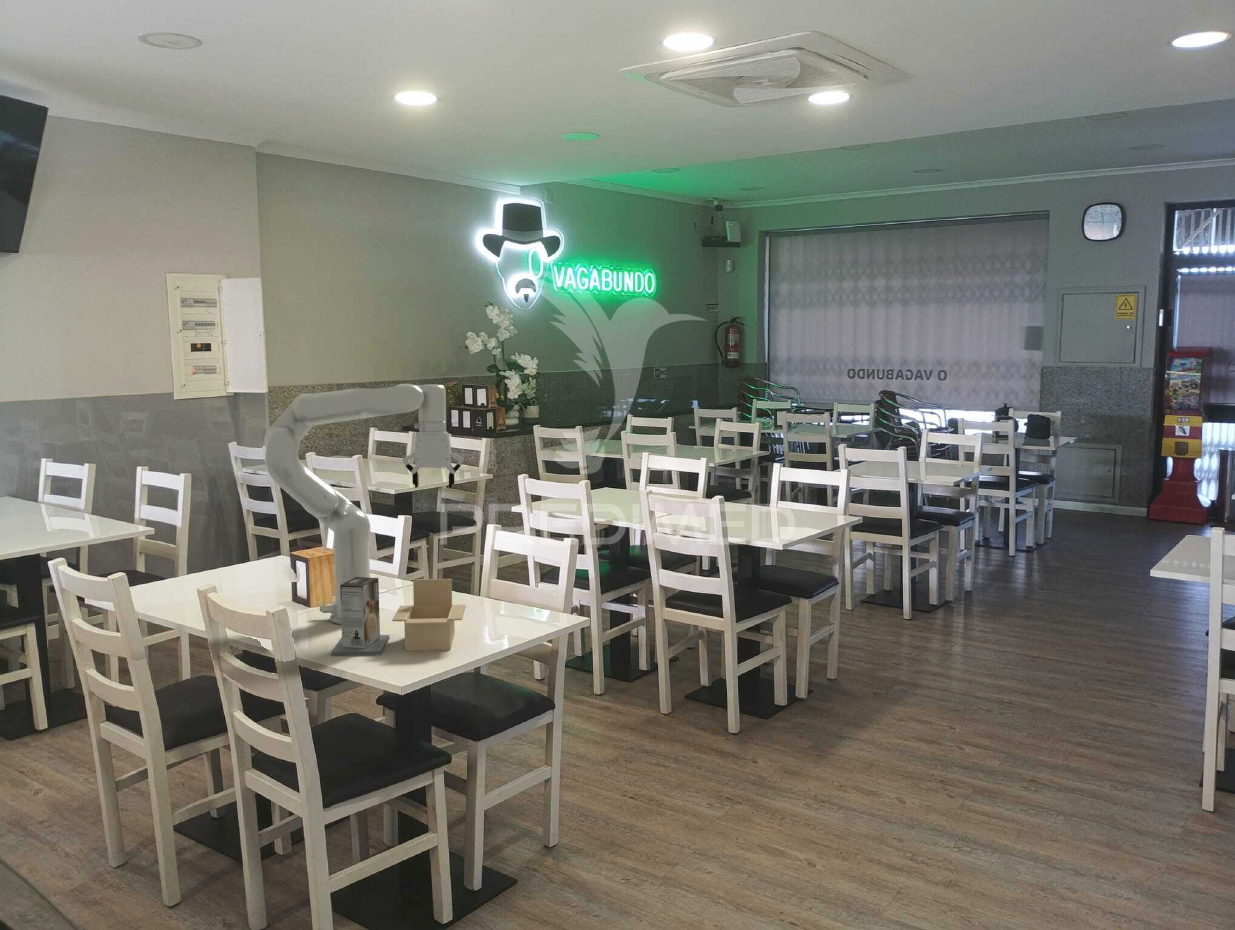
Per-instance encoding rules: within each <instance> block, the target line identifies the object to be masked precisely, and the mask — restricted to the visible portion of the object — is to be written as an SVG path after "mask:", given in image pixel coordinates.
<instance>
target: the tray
mask: <svg viewBox="0 0 1235 930" xmlns="http://www.w3.org/2000/svg"><path fill="white" fill-rule="evenodd" d="M390 635H391V634H380V638H379V639H378V640H376V641H375V642H374V643H372V644H371V645H369V646H368V647H366V648H349V647H342V636H341V638H340V639H339V640H338V642H337V643H336V645H335V646H334V647H333V649H332V650H331V657H339V656H341V657H342V656H343V657H344V656H347V657H348V656H381V655H382V654H383V653H384V651H385V648H386V647H387V645H388V643H389V641H390V637H391V636H390Z"/></svg>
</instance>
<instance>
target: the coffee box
mask: <svg viewBox="0 0 1235 930" xmlns="http://www.w3.org/2000/svg"><path fill="white" fill-rule="evenodd" d="M379 583H380V582H379V577H370V578H366V577H355V578H354V579H351V580H349V581H347V582H345V583H343V584H341V585H340V592H341V624H340V625H341V637H342V647H349V648H366V647H368V646H369V645H371V644H372V643H374V642H375V641H376V640H378V639H379V638H380V635H381V630H380V629H381V628H380V627H381V626H380V625H381V623H380V622H381V621H380V589H379V588H380V587H379Z"/></svg>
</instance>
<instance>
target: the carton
mask: <svg viewBox="0 0 1235 930" xmlns="http://www.w3.org/2000/svg"><path fill="white" fill-rule="evenodd" d="M412 585H413V587H412V588H413V589H412V590H413V591H412V592H413V604H409V605H399V606H398V609H397V610H396V613H395V614H394V615H393V617H392V622H404V651H405V652H413V651H414V652H415V651H416V652H418V651H451V648H452V645H453V642H454V638H455V634H456V633H455V632H456V630H455V629H456V627H455V625H456V623H455V622H456V621H462V620H463V618H464V613H465V611H466V607H467V604H453V578H426V579H425V578H419V579H417V578H416V579H414V578H413V584H412Z"/></svg>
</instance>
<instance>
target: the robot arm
mask: <svg viewBox="0 0 1235 930" xmlns="http://www.w3.org/2000/svg"><path fill="white" fill-rule="evenodd" d="M446 390H447V389H446V387H445V386H444V385H442V384H435V383H434V384H431V383H430V384H429V383H428V384H422V385H419V384H418V385H417V384H412V383H400V384H397V385H394V386H388V387H381V388H380V387H379V388H348V389H341V390H339V389H338V390H334V391H327V392H326V391H325V392H324V391H323V392H318V393H301V394H300V395H298V396H295V398H294V399H293V401H292V402H291V403H290V404H289V405H288V407H287V408H286V409H285V410H284V411H283V413H281V414H280V416H279V417H278V418H277V419H276V420H275V422H273V424H272V425H271V426H269V427H270V428H269V429H268V430H267V431H266V433H265V436H264V439H263V442H264V447H265V454H264V456H265V457H264V458H265V459H264V460H265V466H266V469H267V472H268V474H269V476H270V477H271V479H272V481H274V483H275V484H276V485H277V486H278V487H280V488H281V489H282V490H284V492H286V494H288V495H289V496H290V497H291V498H292V499H294V500H295V501H296V502H297V503H299V505H301V506H302V507H303V509H304V511H306V512H307V513H309V514H311V516H313V517H315V518H316V519H317V520H318V521H319V522H321V523H322V524H323V525H325V526H326V527H327V528H328V529H329V530H330V531H332V532H333V533H334V535H333V536H334V539H333V540H334V541H333V542H334V543H333V566H334V568H333V569H334V570H333V572H334V600H335V601H334V603H331V604H328V605H327V604H320V605H319V612H320V613H321V612H322V614H327V613H328V614H331V615H329V621H330V622H331V623H333V624H338V625H342V624H341V592H340V585H341V584H343V583H345V582H347V581H349V580H351V579H354V578H355V577H366V578H371V570H370V568H371V567H370V566H371V565H370V564H371V563H370V540H371V524H370V520H369V517H368V516H367V514H366V513H365V512H364V511H363V510H362V509H360V508H359V507H357V506H356V505H355V504H354V503H353V502H351V501H350V500H349V499H348V498H347V497H345V496H344V495H343V494H341V493H340V492H339V491H338V490H337V489H335V488H334V486H332V485H331V484H330V483H328V482H327V481H325V480H323V479H321V478H320V477H318V476H317V475H316V474H315V473H314V472H312V470H310V469H309V468H308V467H307V465H305V464H304V463H302V461H301V459H300V457H299V450H300V446H301V441H302V439H303V438H304V437H305V436H306V434H308V432H309V431H310V430H311V429H312V428H313V426H318V425H325V424H327V425H328V424H331V423H333V424H334V423H338V422H340V423H341V422H346V421H348V422H349V421H355V420H363V419H369V418H374V417H383V416H389V415H396V414H403V413H405V414H406V413H411V412H415V411H417V410H418V414H419V415H418V417H419V418H418V421H419V422H417V423H414V424H413V427H414V429H417V430H418V431H419V432H416V435H415V440H414V441H415V443H414V452H412V453H411V454H409V455H406V456H405V457H403V458H402V463H403V464H404V466H405V467H406V469H407V470H408V471H410V473H411V474H412V485H414V488H416V489H417V488H418V487H419V472H418V471H419V469H420V468H421V469H422V468H423V469H424V468H425V469H426V468H427V469H428V468H429V469H431V468H433V469H434V468H435V469H437V468H439V469H440V468H441V469H442V468H446V469H447V470H448V471H449V473H448V487H449V488H453V485H455V473H456V472H457V471H458V470H459V469H460V468H461V466H462V465H463V463H464V460H465V458H464V457H463V456H460V455H459V454H457V453H454V452H453V451H452V449H451V448H452V447H451V446H452V445H451V439H450V434H449V432H448V431H447V401H446V400H447V399H446V398H447V396H446V395H447V392H446ZM411 459H414V465H415V466H413V465H412V464H411V463H410V460H411ZM452 459H455V460H457V463H456V464H455V466H453V465H452Z"/></svg>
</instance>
